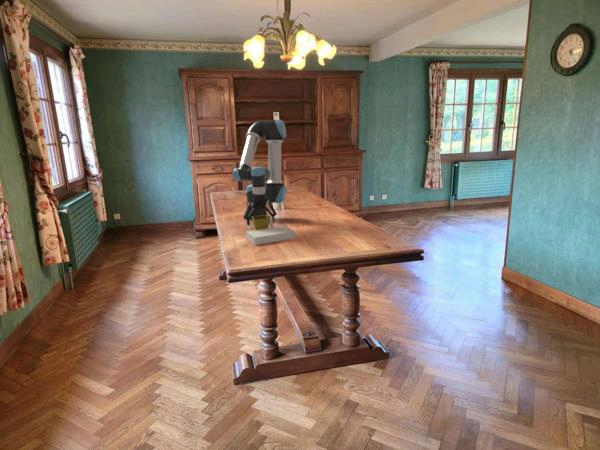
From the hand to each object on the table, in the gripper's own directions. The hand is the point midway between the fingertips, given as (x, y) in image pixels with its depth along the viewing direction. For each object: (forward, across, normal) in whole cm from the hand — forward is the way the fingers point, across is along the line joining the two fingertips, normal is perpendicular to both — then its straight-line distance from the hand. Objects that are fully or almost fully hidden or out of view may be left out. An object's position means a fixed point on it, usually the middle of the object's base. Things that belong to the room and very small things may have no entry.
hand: (260, 228), depth 230 cm
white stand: (+2, 0, -15) cm, 15 cm away
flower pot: (+2, 0, 0) cm, 2 cm away
